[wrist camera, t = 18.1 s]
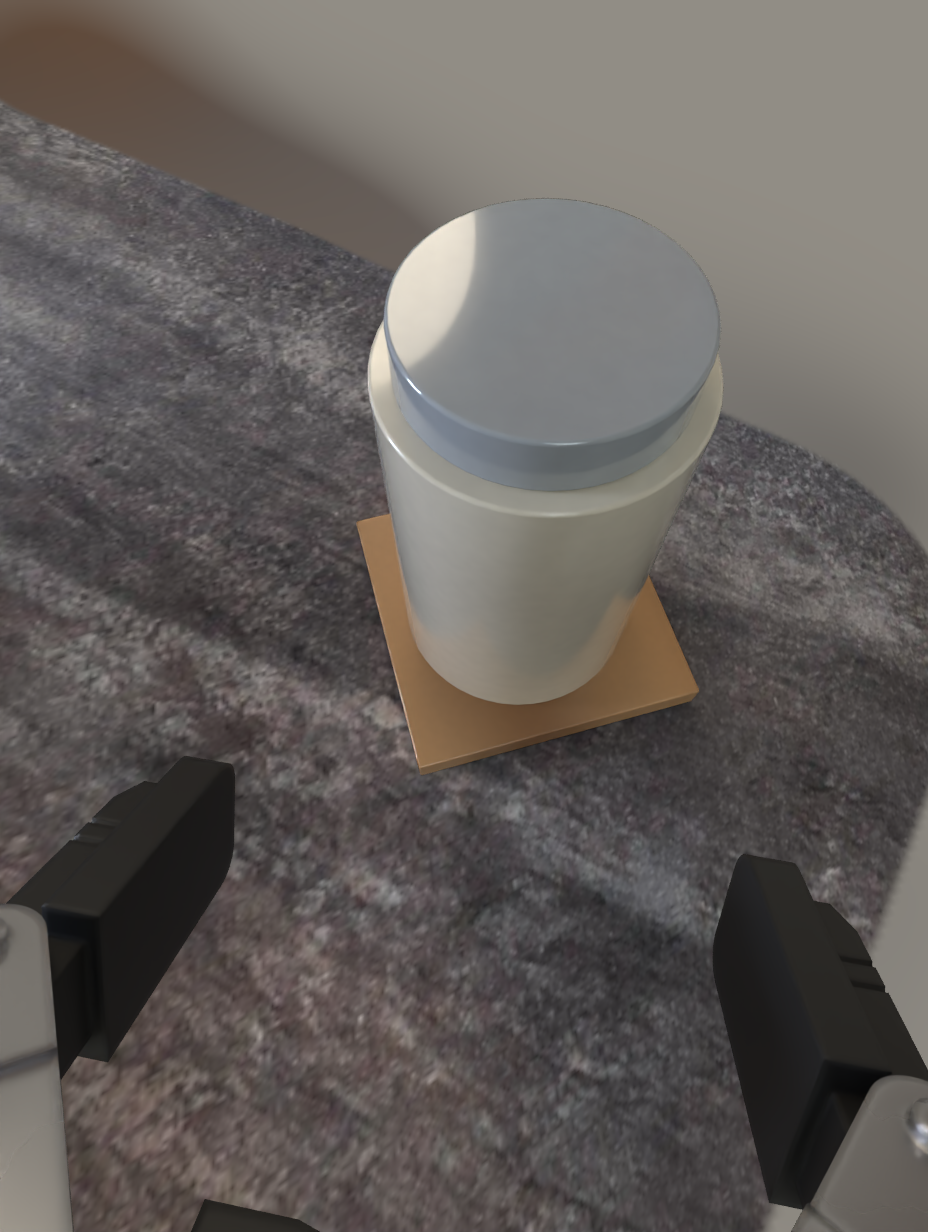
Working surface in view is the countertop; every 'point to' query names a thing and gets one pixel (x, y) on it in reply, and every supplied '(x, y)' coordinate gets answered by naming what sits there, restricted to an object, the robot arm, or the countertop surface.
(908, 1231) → the robot arm
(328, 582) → the countertop surface
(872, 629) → the countertop surface
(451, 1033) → the countertop surface
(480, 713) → the trivet
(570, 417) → the jar with grey lid
